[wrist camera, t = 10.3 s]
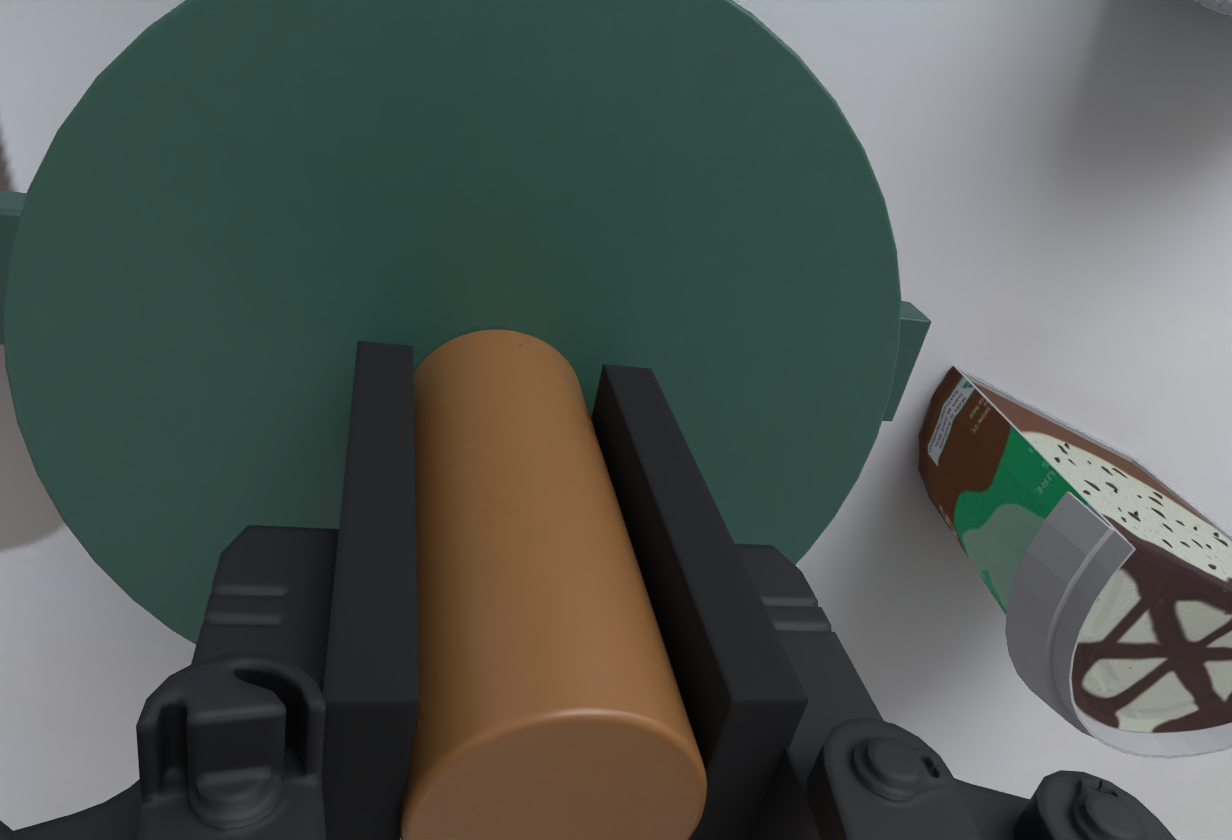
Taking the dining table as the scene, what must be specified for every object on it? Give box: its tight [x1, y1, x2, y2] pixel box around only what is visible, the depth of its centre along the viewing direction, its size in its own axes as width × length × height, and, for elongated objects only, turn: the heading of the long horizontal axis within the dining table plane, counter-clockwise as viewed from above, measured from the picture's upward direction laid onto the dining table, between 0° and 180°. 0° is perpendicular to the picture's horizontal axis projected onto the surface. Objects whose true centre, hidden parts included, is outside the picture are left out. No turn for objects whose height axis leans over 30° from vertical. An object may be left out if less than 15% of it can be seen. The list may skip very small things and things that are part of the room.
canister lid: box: [3, 0, 901, 840], centre depth 12 cm, size 14×14×9 cm
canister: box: [0, 190, 931, 421], centre depth 21 cm, size 13×18×10 cm
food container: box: [918, 366, 1232, 758], centre depth 29 cm, size 12×6×10 cm, turn 60°
